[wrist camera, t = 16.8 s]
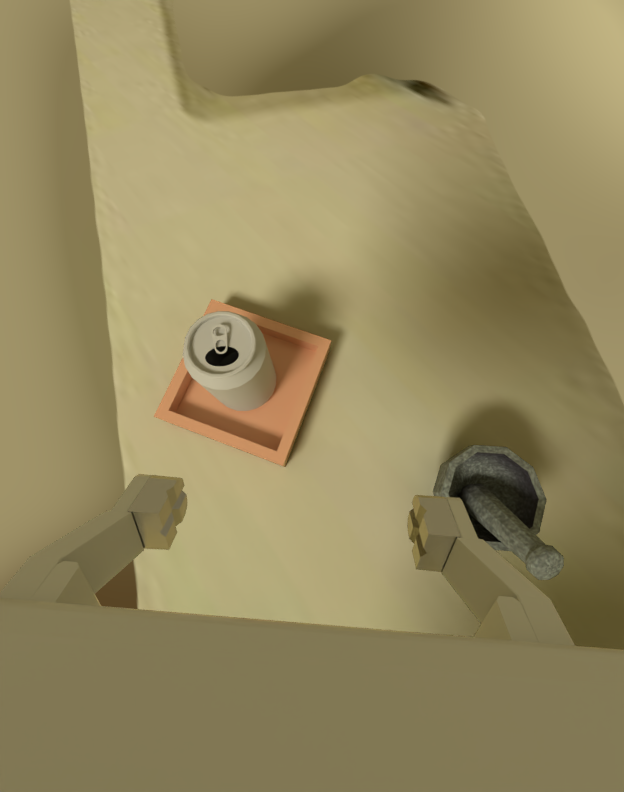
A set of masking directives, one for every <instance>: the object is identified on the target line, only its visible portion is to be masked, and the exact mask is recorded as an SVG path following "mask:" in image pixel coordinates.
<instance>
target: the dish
mask: <svg viewBox="0 0 624 792" xmlns="http://www.w3.org/2000/svg"><path fill="white" fill-rule="evenodd" d="M217 311H229V312H232V313H236V314H239V315H242V316H245V317H247V318H248V319H250V320H251V321H253V322H254V323H255V324H256V325H257V326H258V328H259V329H260V331H261V332H262V334H263V336H264V339H265V342H266V345H267V348H268V351H269V354H270V357H271V360H272V363H273V366H274V369H275V373H276V387H275V389H274V392H273V394H272V396H271V397H270V398H269V399H268V401H267V402H266V403H265V404H263V405H261V406H260V407H258V408H256V409H253V410H249V411H236V410H233V409H231V408H228V407H226V406H225V405H224V404H223V403H221V402H220V401H219V400H218V399H217V398H215V397H214V396H213V395H212V394H211V393H210V392H208V391H207V390H206V389H205V388H204V387H203V386H201V385H200V384H199V383H198V382H197V381H196V380H194V379H193V378H192V377H191V375H190V374H189V372H188V370H187V369H186V367H185V363H184V358H182V360H181V362H180V364H179V366H178V368H177V370H176V373H175V375H174V377H173V379H172V381H171V383H170V385H169V387H168V389H167V391H166V393H165V395H164V397H163V399H162V401H161V403H160V405H159V407H158V409H157V411H156V413H155V415H154V417H156V418H159V419H161V420H164V421H166V422H169V423H172V424H174V425H177V426H180V427H182V428H185V429H187V430H190V431H193V432H195V433H198V434H200V435H203V436H206V437H208V438H211V439H213V440H216V441H219V442H221V443H224V444H227V445H229V446H232V447H234V448H237V449H240V450H242V451H245V452H247V453H250V454H253V455H255V456H258V457H261V458H263V459H266V460H268V461H271V462H274V463H276V464H279V465H281V466H284V467H285V466H286V463H287V461H288V458H289V456H290V453H291V450H292V448H293V445H294V443H295V440H296V437H297V435H298V432H299V430H300V427H301V424H302V422H303V419H304V416H305V414H306V411H307V409H308V406H309V403H310V401H311V398H312V396H313V393H314V390H315V388H316V385H317V383H318V380H319V377H320V375H321V372H322V370H323V367H324V364H325V362H326V359H327V356H328V354H329V351H330V346H331V340H329V339H326V338H323V337H320V336H317V335H314V334H311V333H308V332H305V331H303V330H300V329H297V328H294V327H291V326H288V325H285V324H282V323H279V322H276V321H273V320H271V319H268V318H265V317H262V316H259V315H256V314H253V313H250V312H247V311H244V310H242V309H239V308H236V307H233V306H230V305H227V304H224V303H221V302H218V301H215V300H213V299H212V300H211V302H210V304H209V306H208V308H207V310H206V312H205V314H204V316H205V315H206V314H209V313H213V312H217Z"/></svg>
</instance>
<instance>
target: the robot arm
mask: <svg viewBox="0 0 624 792" xmlns="http://www.w3.org/2000/svg"><path fill="white" fill-rule="evenodd" d="M183 487H184V482H183V479H182V478H177V477H167V476H157V475H144V474H138V475H137V476H135V477H134V478H133V480H132V481H131V483H130V484H129V486H128V487H127V488H126V490H125V491H124V493H123V494H122V496H121V497H120V498H119V500H118V501H117V503H116V504H115V506H114V507H113V508H112V510H111V511H105V512H103V513H102V514H100V515H98V516H97V517H95V518H93V519H92V520H90V521H88V522H87V523H85V524H83V525H82V526H80V527H78V528H77V529H75V530H74V531H72V532H70V533H68V534H67V535H65V536H64V537H62V538H60V539H59V540H57V541H55V542H54V543H52V544H50V545H49V546H47V547H45V548H44V549H42V550H40V551H39V552H37V553H35V554H34V555H32V556H30V557H29V559H28V560H27V561H26V562H25V563H24V565H23V566H22V567H21V568H20V570H19V571H18V572H17V573H16V574H15V575H14V576H13V578H12V579H11V580H10V581H9V582H8V584H7V585H6V586H5V587H4V588H3V590H2V591H1V592H0V792H624V650H621V649H609V648H597V647H585V646H575V644H574V643H573V641H572V639H571V637H570V635H569V633H568V631H567V629H566V627H565V626H564V624H563V622H562V620H561V618H560V616H559V614H558V612H557V611H556V609H555V607H554V605H553V603H552V601H551V599H550V598H549V597H547V596H546V595H545V594H544V593H543V592H542V591H541V590H540V589H538V588H537V587H536V586H535V585H534V584H533V583H532V582H530V581H529V580H528V579H527V578H526V577H525V576H524V575H523V574H521V573H520V572H519V571H518V570H517V569H516V568H515V567H514V566H512V565H511V564H510V563H509V562H508V561H507V560H506V559H504V558H503V557H502V556H501V555H500V554H499V553H498V552H497V551H495V550H494V549H493V548H492V547H491V546H490V545H489V544H488V543H486V542H485V541H484V540H483V539H478V537H477V534H476V532H475V530H474V527H473V525H472V523H471V520H470V518H469V516H468V513H467V511H466V508H465V506H464V504H463V501H462V500H461V499H460V498H454V497H440V496H424V495H415V496H414V498H413V501H412V504H413V509H412V510H411V511H409V515H408V524H407V527H408V534H409V539H410V540H411V541H412V542H413V543H414V546H413V549H412V553H413V557H414V562H415V566H416V569H418V570H428V571H437V572H442V574H443V576H444V577H445V578H446V580H447V581H448V582H449V583H450V585H451V586H452V587H453V588H454V590H455V591H456V592H457V594H458V595H459V596H460V597H461V599H462V600H463V601H464V602H465V604H466V605H467V606H468V608H469V609H470V610H471V611H472V613H473V614H474V615H475V617H476V618H477V619H478V620H479V622H480V623H481V626H480V627H479V629H478V630H477V632H476V634H475V635H474V637H465V636H453V635H441V634H429V633H417V632H405V631H393V630H381V629H369V628H357V627H345V626H333V625H321V624H309V623H297V622H285V621H273V620H261V619H249V618H237V617H225V616H213V615H201V614H189V613H177V612H165V611H153V610H141V609H129V608H117V607H116V608H115V607H104V606H101V605H100V603H99V601H98V599H97V598H96V596H95V593H96V592H97V591H98V590H99V589H100V588H102V587H103V586H104V585H105V584H106V583H107V582H108V581H110V580H111V579H112V578H113V577H114V576H115V575H116V574H117V573H119V572H120V571H121V570H122V569H123V568H124V567H125V566H126V565H127V564H129V563H130V562H131V561H132V560H133V559H134V558H136V557H137V556H138V555H139V554H140V553H141V552H142V551H143V550H144V548H146V549H166V550H169V549H170V547H171V545H172V542H173V540H174V538H175V536H176V534H177V530H176V526H177V525H178V524H179V523H181V522H182V521H183V518H184V516H185V513H186V509H187V495H186V494H185V493H184V492H183V491H182V489H183Z"/></svg>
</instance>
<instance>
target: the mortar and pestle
mask: <svg viewBox="0 0 624 792" xmlns="http://www.w3.org/2000/svg"><path fill="white" fill-rule="evenodd" d="M433 494H434V496H440V497H454V498H460V499H461V500H462V501H463V504H464V506H465V508H466V511H467V513H468V516H469V518H470V520H471V523H472V525H473V527H474V530H475V532H476V534H477V537H478V539H483V540H484V541H485V542H486V543H488V544H489V545H490V546H491V547H492V548H493V549H494V550H504V551H512V552H513V553H514V554H515V555H516V556H518V557H519V558H520V559H521V560H522V561H523V562H524V563H525V564H526V568H527V570H528V571H529V572H530V573H531V574H532V575H533V576H535V577H536V578H537V579H538V580H549V579H551V578H553V577H555V576H556V575H558V574H559V572H560V571H561V569H562V568H563V566H564V558H563V556H562V555H561V554H560V553H559V552H558V551H557V550H556V549H555V548H554V547H553V546H550V545H545V544H544V543H543V542H542V541H541V540H540V539H539V538H538V537H537V536H536V534H537V533H539V531H540V527H541V522H542V518H543V513H544V509H545V504H546V497H545V495H544V492H543V490H542V487H541V485H540V483H539V480H538V478H537V475H536V473H535V470H534V468H533V467H532V466H531V465H529V464H528V463H527V462H525V461H524V460H523V459H521V458H520V457H519V456H517V455H516V454H515V453H513V452H512V451H511V450H509V449H508V448H507V447H497V446H482V445H472V446H468V447H467V448H465V449H464V450H462V451H461V452H459V453H458V454H456V455H455V456H453V457H452V458H450V459H449V460H447V461H446V462H445V463H443V464H442V465H441V466H440V470H439V473H438V476H437V480H436V483H435V486H434V490H433Z"/></svg>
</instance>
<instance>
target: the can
mask: <svg viewBox="0 0 624 792" xmlns="http://www.w3.org/2000/svg"><path fill="white" fill-rule="evenodd" d="M183 358H184V363H185V367H186V369H187V370H188V372H189V374H190V375H191V377H192V378H193V379H194V380H196V381H197V382H198V383H199V384H200V385H201V386H203V387H204V388H205V389H206V390H207V391H208V392H210V393H211V394H212V395H213V396H214V397H215V398H217V399H218V400H219V401H220V402H221V403H223V404H224V405H225V406H226V407H228V408H231V409H233V410H236V411H249V410H253V409H256V408H258V407H260V406H261V405H263V404H265V403H266V402H267V401H268V399H269V398H270V397H271V396H272V394H273V392H274V389H275V387H276V373H275V369H274V366H273V363H272V360H271V357H270V354H269V351H268V348H267V345H266V342H265V339H264V336H263V334H262V332H261V331H260V329H259V328H258V326H257V325H256V324H255V323H254V322H253V321H251V320H250V319H248V318H247V317H245V316H242V315H239V314H236V313H232V312H229V311H217V312H213V313H209V314H206V315H205V316H203V317H201V318H199V319H198V320H197V321H196V322H195V323H194V324H193V325H192V326H191V327H190V329H189V331H188V333H187V335H186V337H185V343H184V349H183Z"/></svg>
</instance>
